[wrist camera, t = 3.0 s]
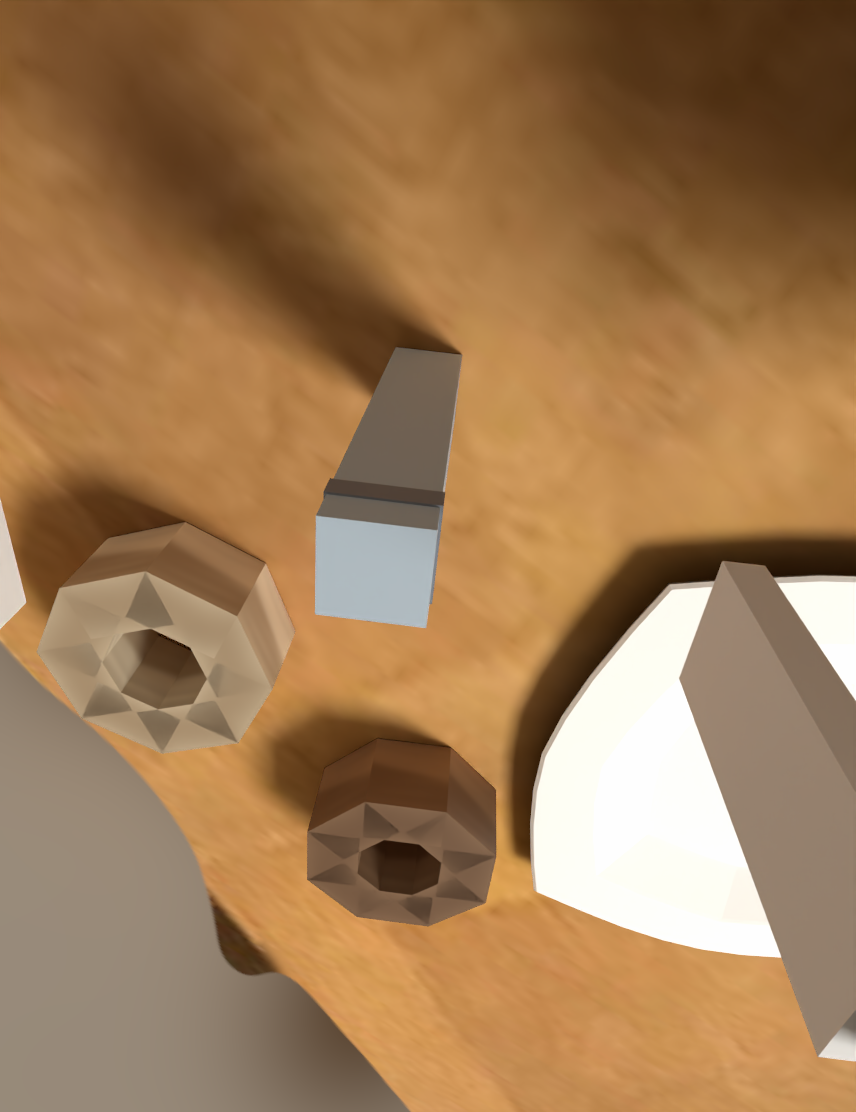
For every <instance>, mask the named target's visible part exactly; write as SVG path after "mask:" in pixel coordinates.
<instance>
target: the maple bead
mask: <svg viewBox="0 0 856 1112" xmlns="http://www.w3.org/2000/svg"><path fill="white" fill-rule="evenodd" d="M157 632H159V633H161V634H163V635H165V636H167V637H169V638H171V639H174V640H176V641H178V642H180V643H182V644H184V645H186V646H188V647H190V648H191V650H192V651H190V650H188V649H186V648H184V647H182V646H180V645H178V644H175V643H173V642H171V641H169V640H167V639H165V638H163V637H161V636H159V635H158V633H157ZM294 634H295V629H294V627H293V625H292V622H291V620H290V618H289V615H288V613H287V611H286V609H285V606H284V604H283V602H282V599H281V597H280V595H279V593H278V590H277V588H276V586H275V583H274V581H273V579H272V577H271V574H270V572H269V570H268V567H267V565H266V563H264V562H262V561H260V560H258V559H256V558H254V557H252V556H250V555H248V554H246V553H245V552H243V551H241V550H239V549H237V548H235V547H233V546H231V545H229V544H227V543H225V542H223V541H221V540H219V539H217V538H215V537H213V536H211V535H210V534H208V533H206V532H204V531H202V530H200V529H198V528H196V527H194V526H192V525H190V524H188V523H186V522H183V523H178V524H174V525H169V526H164V527H159V528H154V529H150V530H145V531H140V532H135V533H131V534H126V535H121V536H116V537H111V538H108V539H107V540H106V541H105V542H104V543H103V544H102V545H101V546H100V547H99V548H98V549H97V550H96V551H95V552H94V553H93V554H92V555H91V556H90V557H89V558H88V559H87V560H86V561H85V562H84V563H83V564H82V565H81V566H80V567H79V568H78V570H77V571H76V572H75V573H74V574H73V575H72V576H71V577H70V578H69V579H68V580H67V581H66V582H65V583H64V584H63V585H62V586H61V587H60V588H59V591H58V594H57V596H56V599H55V602H54V605H53V608H52V610H51V613H50V616H49V619H48V622H47V624H46V627H45V630H44V633H43V636H42V638H41V641H40V644H39V647H38V650H37V653H38V655H39V656H40V657H41V659H42V660H43V662H44V663H45V665H46V666H47V668H48V669H49V671H50V672H51V674H52V675H53V677H54V678H55V680H56V681H57V683H58V684H59V686H60V687H61V689H62V690H63V691H64V693H65V694H66V696H67V697H68V699H69V700H70V702H71V703H72V705H73V706H74V708H75V709H76V711H77V712H78V714H79V715H80V717H81V718H82V719H85V720H87V721H89V722H91V723H94V724H96V725H98V726H100V727H103V728H105V729H107V730H110V731H112V732H114V733H116V734H119V735H121V736H123V737H126V738H128V739H130V740H132V741H135V742H137V743H139V744H142V745H144V746H146V747H148V748H151V749H153V750H155V751H157V752H160V753H170V752H177V751H184V750H191V749H199V748H206V747H213V746H221V745H228V744H235V743H239V741H240V740H241V738H242V736H243V735H244V733H245V732H246V730H247V729H248V727H249V725H250V724H251V722H252V721H253V719H254V717H255V716H256V714H257V713H258V711H259V709H260V708H261V706H262V705H263V703H264V702H265V700H266V698H267V697H268V695H269V694H270V692H271V690H272V689H273V686H274V684H275V681H276V679H277V676H278V674H279V671H280V669H281V666H282V664H283V661H284V659H285V656H286V654H287V651H288V649H289V646H290V644H291V641H292V639H293V636H294Z"/></svg>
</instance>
